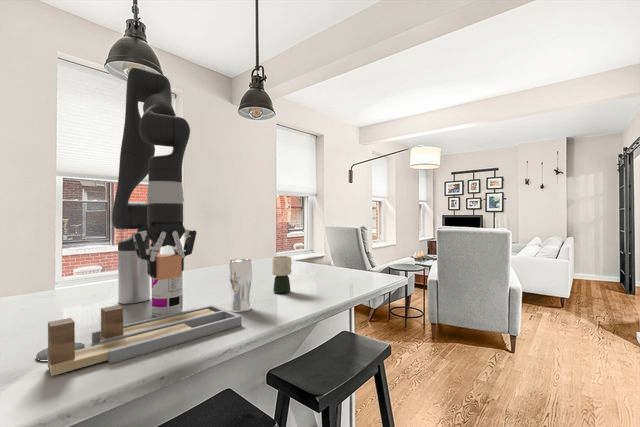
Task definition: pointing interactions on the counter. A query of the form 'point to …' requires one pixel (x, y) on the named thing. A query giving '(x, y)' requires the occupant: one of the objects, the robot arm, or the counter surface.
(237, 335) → the counter surface
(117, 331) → the oak strip
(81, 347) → the slate coaster
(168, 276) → the rust cube
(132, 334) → the lane frame
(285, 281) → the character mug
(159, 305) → the supplement can
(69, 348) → the oak strip
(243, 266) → the beer glass
